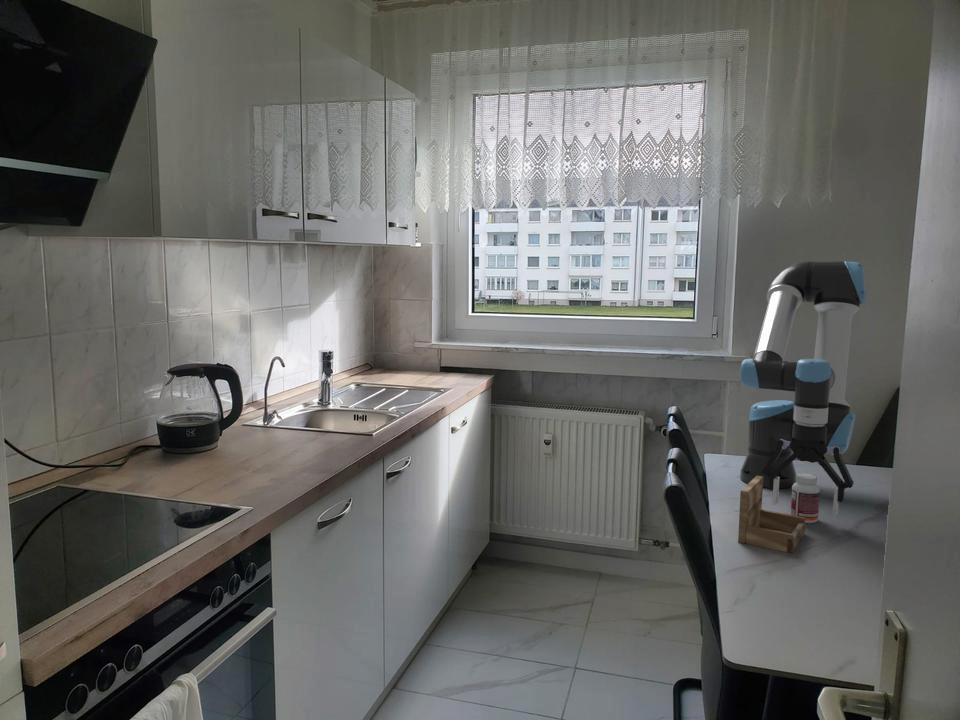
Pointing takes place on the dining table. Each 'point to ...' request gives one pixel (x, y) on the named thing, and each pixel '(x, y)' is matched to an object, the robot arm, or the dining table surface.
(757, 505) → the brown wooden l-shaped frame
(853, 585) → the dining table surface
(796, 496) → the pill bottle
